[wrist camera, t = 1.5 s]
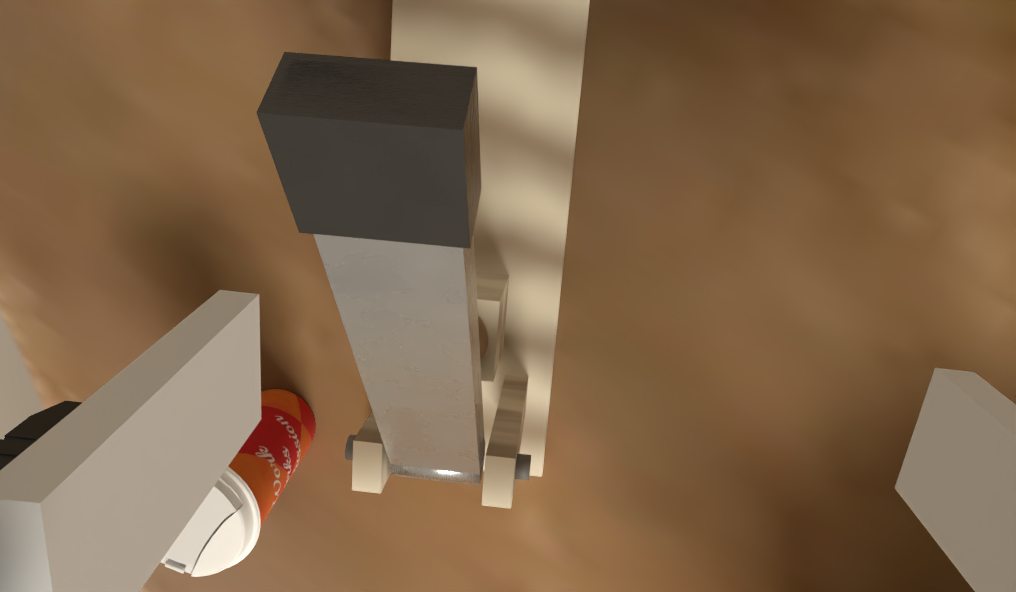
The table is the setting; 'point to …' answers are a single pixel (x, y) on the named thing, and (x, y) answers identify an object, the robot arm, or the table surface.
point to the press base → (506, 210)
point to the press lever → (393, 238)
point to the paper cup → (245, 489)
